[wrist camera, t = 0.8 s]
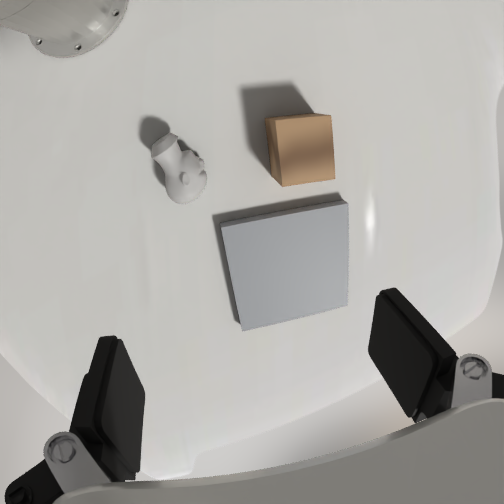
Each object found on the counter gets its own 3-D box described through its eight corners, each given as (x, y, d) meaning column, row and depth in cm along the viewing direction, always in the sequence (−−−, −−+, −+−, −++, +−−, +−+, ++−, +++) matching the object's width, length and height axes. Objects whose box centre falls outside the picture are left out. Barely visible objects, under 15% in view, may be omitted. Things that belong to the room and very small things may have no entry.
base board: (219, 222, 39) (221, 227, 38) (343, 199, 40) (348, 203, 39) (240, 324, 46) (242, 331, 45) (343, 299, 48) (347, 305, 46)
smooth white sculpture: (208, 186, 38) (170, 206, 37) (183, 125, 34) (142, 144, 33) (221, 191, 34) (180, 214, 33) (194, 123, 30) (148, 144, 29)
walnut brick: (264, 118, 34) (275, 120, 30) (314, 113, 35) (331, 115, 30) (271, 176, 38) (282, 186, 33) (318, 169, 38) (335, 178, 34)
